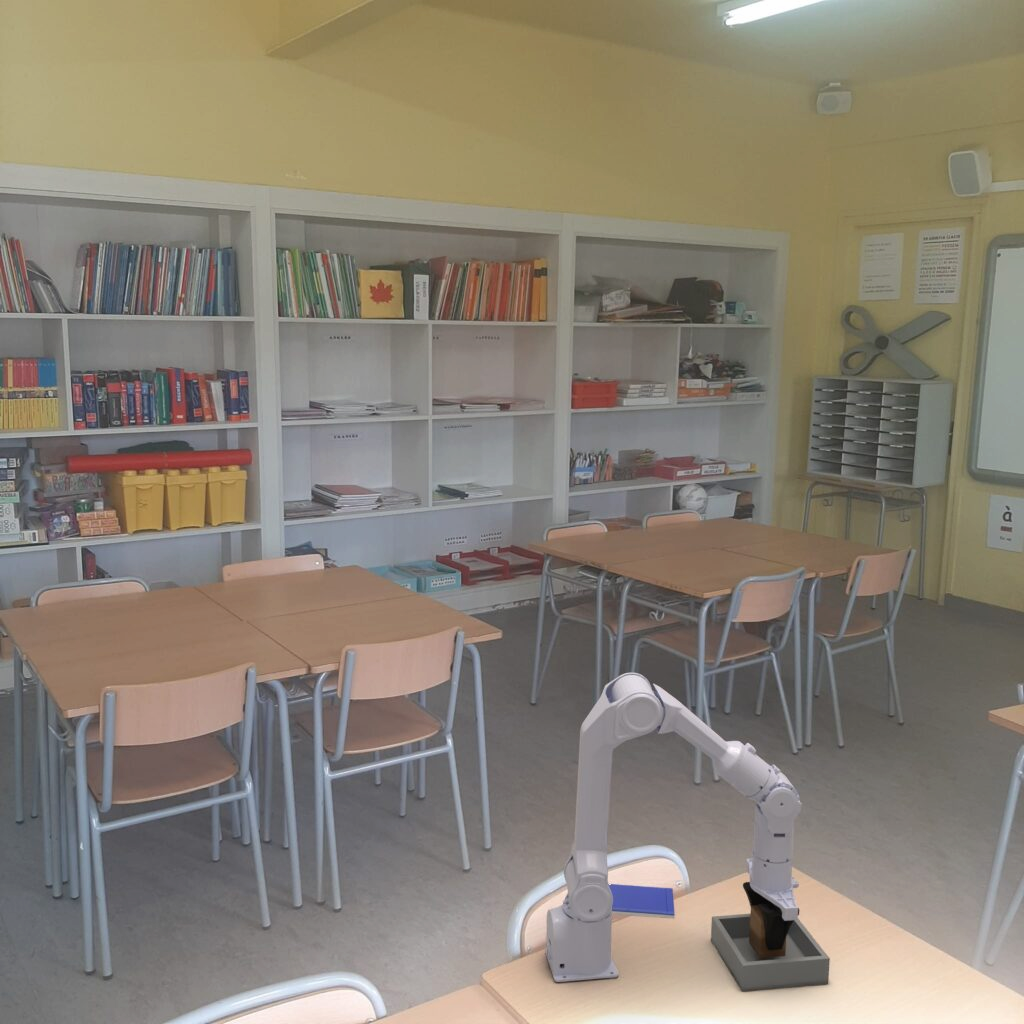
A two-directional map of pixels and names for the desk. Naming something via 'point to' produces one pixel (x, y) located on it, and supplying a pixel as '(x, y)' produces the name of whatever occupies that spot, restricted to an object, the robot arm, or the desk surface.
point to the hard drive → (642, 901)
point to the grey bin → (753, 973)
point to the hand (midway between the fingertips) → (768, 939)
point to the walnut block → (761, 936)
